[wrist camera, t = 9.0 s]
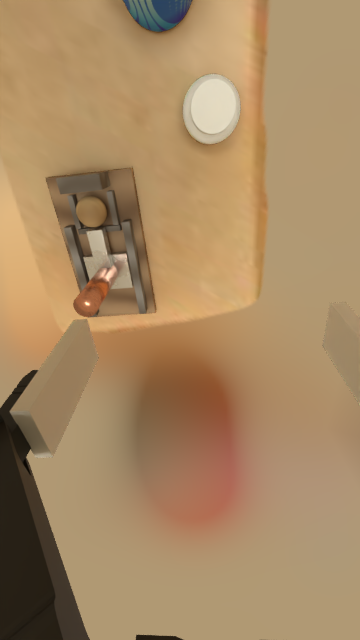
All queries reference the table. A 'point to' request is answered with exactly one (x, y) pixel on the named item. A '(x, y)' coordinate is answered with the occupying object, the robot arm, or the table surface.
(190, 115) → the pill bottle
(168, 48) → the table surface
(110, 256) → the lever handle
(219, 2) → the table surface
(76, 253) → the base
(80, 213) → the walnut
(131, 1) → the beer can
